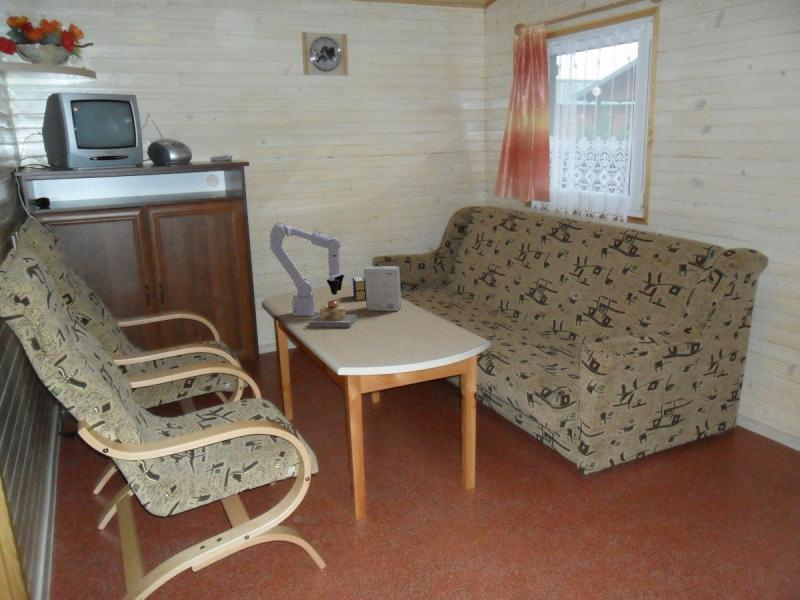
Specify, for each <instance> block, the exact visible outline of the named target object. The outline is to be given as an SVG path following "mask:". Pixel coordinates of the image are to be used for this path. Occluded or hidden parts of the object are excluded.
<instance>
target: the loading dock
mask: <svg viewBox="0 0 800 600" xmlns="http://www.w3.org/2000/svg"><path fill="white" fill-rule="evenodd" d="M356 321H357V314H346V317H345V318H344V319H343V320H321V317H320V314H319V313H317V314H316V315H315V316H314V317H313V318H311V320H310V321H309V328H321V327H348V328H347V329H350V328H349V327H351V328H352V326H353V325H354V324H355V323H356ZM354 322H355V323H354ZM353 323H354V324H353Z"/></svg>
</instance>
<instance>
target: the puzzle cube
mask: <svg viewBox="0 0 800 600" xmlns="http://www.w3.org/2000/svg"><path fill="white" fill-rule="evenodd" d="M352 290H353V297H355V298H354V299H355V301H356V300H358V301H366V291H365V275H364V276H355V277H352Z"/></svg>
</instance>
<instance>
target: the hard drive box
mask: <svg viewBox="0 0 800 600" xmlns="http://www.w3.org/2000/svg"><path fill="white" fill-rule="evenodd" d="M400 271H401V269H400V266H395V265H394V266H392V265H391V266H389V265H388V266H387V265H386V266H383V265H381V266H379V265H378V266H375V265H373V266H372V265H369V266H368V267H366V268H365V269H364V274H363V275H364V276H365V291H366V299H365V304H366V305H365V306H366V311H374V310H376V311H378V310H379V311H383V312H384V311H385V312H397V311H399V310H400V309H401V308H402V292H401V290H402V289H401V275H400V273H401V272H400ZM379 311H378V312H379Z"/></svg>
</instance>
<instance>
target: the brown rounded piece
mask: <svg viewBox="0 0 800 600" xmlns="http://www.w3.org/2000/svg"><path fill="white" fill-rule="evenodd" d="M327 305H328V308H337V306H338V300H328V301H327Z"/></svg>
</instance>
